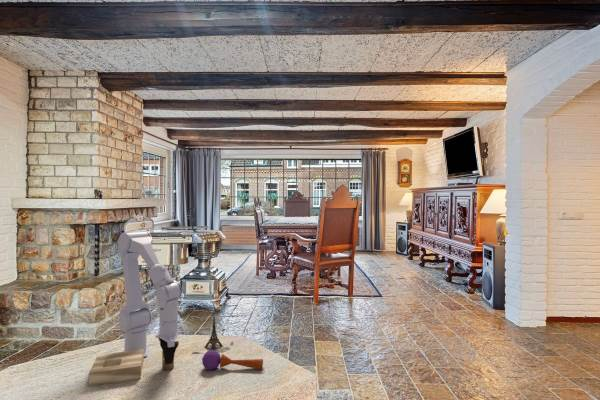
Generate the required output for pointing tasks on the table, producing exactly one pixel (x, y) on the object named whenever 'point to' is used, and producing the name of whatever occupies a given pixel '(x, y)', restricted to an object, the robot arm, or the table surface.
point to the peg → (166, 366)
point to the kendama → (227, 361)
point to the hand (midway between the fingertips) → (168, 360)
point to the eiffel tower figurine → (214, 342)
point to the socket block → (116, 367)
